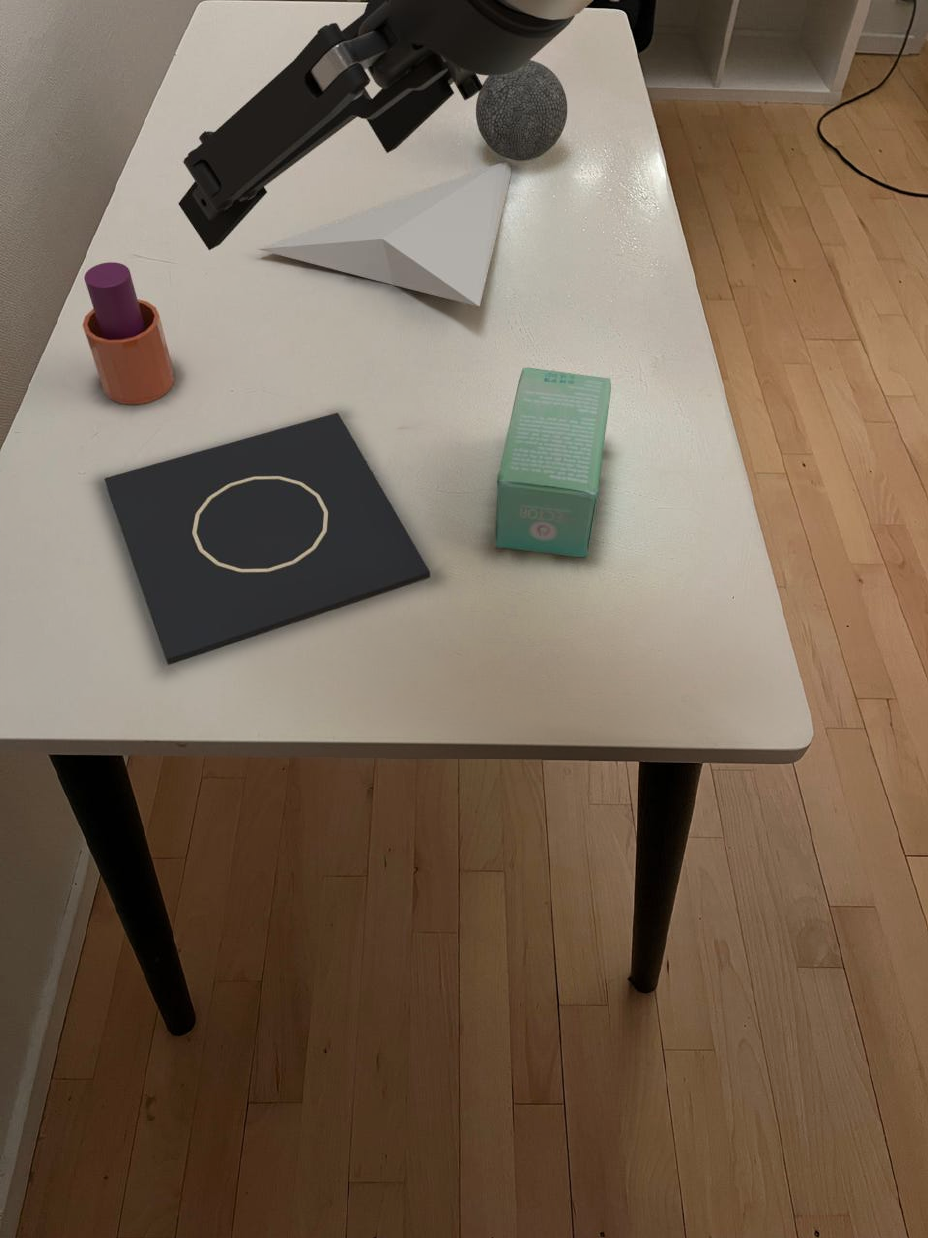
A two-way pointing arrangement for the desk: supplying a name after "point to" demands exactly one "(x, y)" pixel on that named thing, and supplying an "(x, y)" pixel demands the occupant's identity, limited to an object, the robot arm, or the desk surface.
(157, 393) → the pen pot
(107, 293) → the cylinder
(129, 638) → the desk surface
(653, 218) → the desk surface
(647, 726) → the desk surface
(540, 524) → the box
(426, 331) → the desk surface
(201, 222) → the robot arm
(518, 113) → the decorative ball
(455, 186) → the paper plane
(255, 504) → the felt pad
